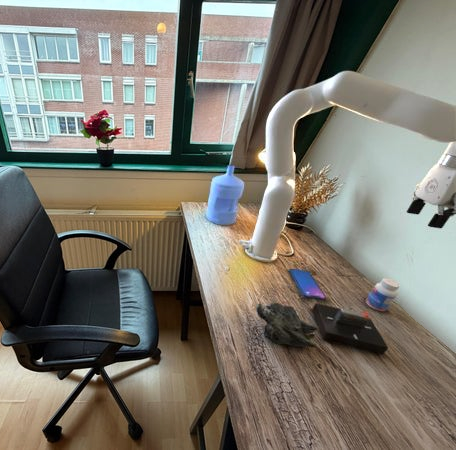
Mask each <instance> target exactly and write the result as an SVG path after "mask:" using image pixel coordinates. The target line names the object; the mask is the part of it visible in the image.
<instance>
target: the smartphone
mask: <svg viewBox="0 0 456 450" xmlns="http://www.w3.org/2000/svg"><path fill="white" fill-rule="evenodd" d="M288 272H289V274H290V275H291V277H292V280H293V281H294V283H295V284H296V286H297V287H298V290H299V291H300V293H301V295H302V296H303V298H306V299H311V300H317V301H326V300H327V296H326V295H325V293H324V292H323V290H322V289H321V287H320V286H319V284H318V283H317V281H316V280H315V278H314V277H313V275H312V274H311V272H310V271H308V270H304V269H297V268H290V269H289V270H288Z"/></svg>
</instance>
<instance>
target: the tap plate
mask: <svg viewBox="0 0 456 450" xmlns="http://www.w3.org/2000/svg"><path fill="white" fill-rule="evenodd" d="M340 308H341V307H340ZM340 308H339V307H335V306H330V305H327V304H323V303H317V302H314V305H313V307H312V309H311V311H312V314H313V317H314V320H315V322H316V325H317V327H318V328H319V330H318V331H319V334H320V336H321V339H322V340H323V341H327V342H330V343H335V344H339V345H343V346H346V347H350V348H354V349H358V350H362V351H366V352H370V353H373V354H377V355H381V356H383V355H384V354H385V353H386V351H387V350H388V349H389V347H388V345H387V343H386V341H385V340H384V338H383V336H382V335H381V334H380V331H379V330H378V328H377V326H376V324H375V323H374V321H373V320H372V318H370V319H369V321H368V322H367V324H366V325H365V327H364V328H359V327H355V326H351V325H347V324H343V323H339V322H336V319H335V317H336V315H337V313H338V311H339V310H340Z"/></svg>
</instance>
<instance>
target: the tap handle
mask: <svg viewBox="0 0 456 450" xmlns="http://www.w3.org/2000/svg"><path fill="white" fill-rule="evenodd" d="M335 319H336V322H339V323H343V324H347V325H351V326H355V327H359V328H364V327H365V325H366V324H367V322H368V321H369V319H371V317H370V315H369V313H368V312H361V311H357V310H353V309H349V308H344V307H340V310H339V311H338V313H337V315H336V317H335Z"/></svg>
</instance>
